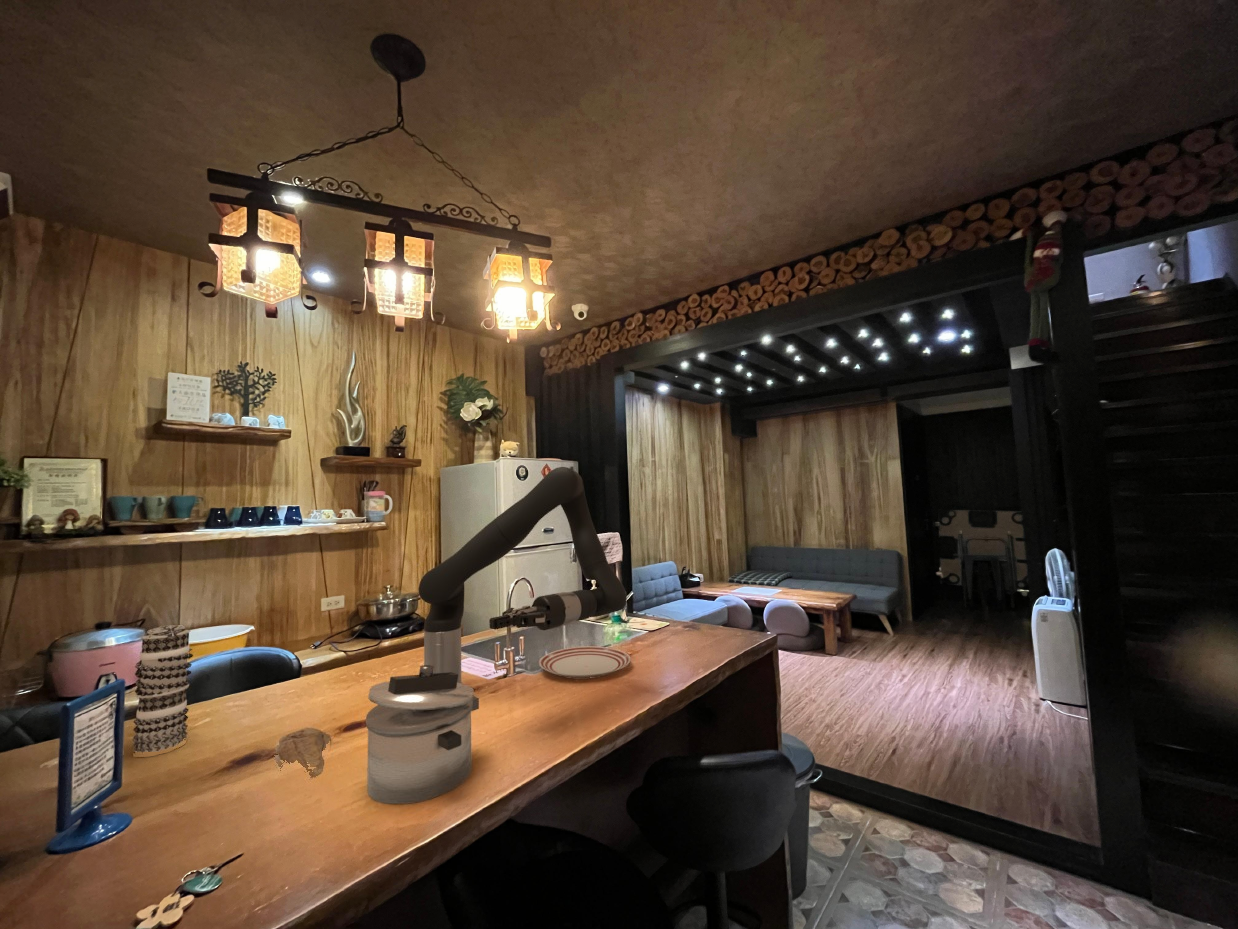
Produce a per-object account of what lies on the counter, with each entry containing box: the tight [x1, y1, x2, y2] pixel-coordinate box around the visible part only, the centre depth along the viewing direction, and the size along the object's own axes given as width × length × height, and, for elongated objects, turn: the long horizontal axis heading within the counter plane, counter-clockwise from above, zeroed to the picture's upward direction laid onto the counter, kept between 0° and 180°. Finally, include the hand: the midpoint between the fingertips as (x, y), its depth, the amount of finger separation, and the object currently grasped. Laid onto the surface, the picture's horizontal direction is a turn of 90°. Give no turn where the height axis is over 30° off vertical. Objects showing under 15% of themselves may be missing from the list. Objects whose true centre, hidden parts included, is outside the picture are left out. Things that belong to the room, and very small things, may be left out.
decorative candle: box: [131, 624, 194, 753], centre depth 107 cm, size 9×9×25 cm
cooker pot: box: [365, 695, 480, 805], centre depth 91 cm, size 22×19×12 cm
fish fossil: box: [274, 727, 331, 779], centre depth 100 cm, size 26×10×1 cm, turn 40°
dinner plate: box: [538, 645, 632, 679], centre depth 150 cm, size 27×27×3 cm
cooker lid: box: [367, 665, 475, 710], centre depth 92 cm, size 18×18×5 cm
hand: (491, 624), depth 103 cm, fingers closed
